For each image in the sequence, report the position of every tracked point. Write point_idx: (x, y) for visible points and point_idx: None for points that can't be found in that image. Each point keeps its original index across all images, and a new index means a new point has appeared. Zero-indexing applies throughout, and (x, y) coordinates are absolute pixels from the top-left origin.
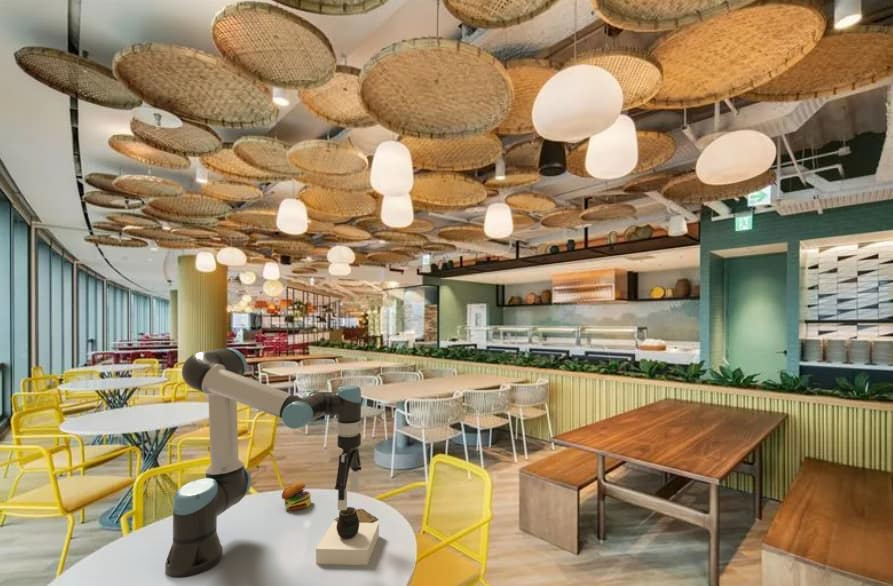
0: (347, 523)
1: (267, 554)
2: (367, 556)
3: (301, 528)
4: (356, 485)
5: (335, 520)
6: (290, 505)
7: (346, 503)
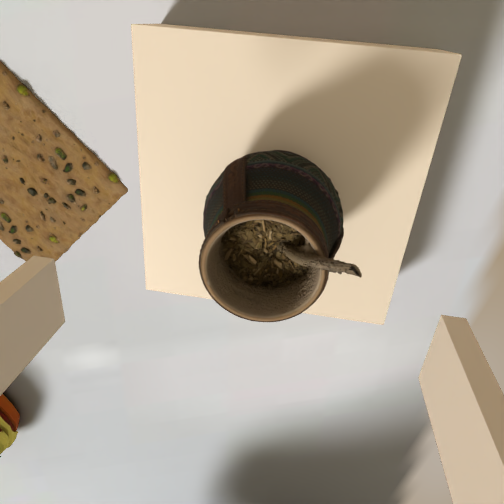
0: (332, 237)
1: (291, 432)
2: (446, 51)
3: (127, 370)
4: (24, 303)
5: None
6: (10, 434)
7: (480, 360)
